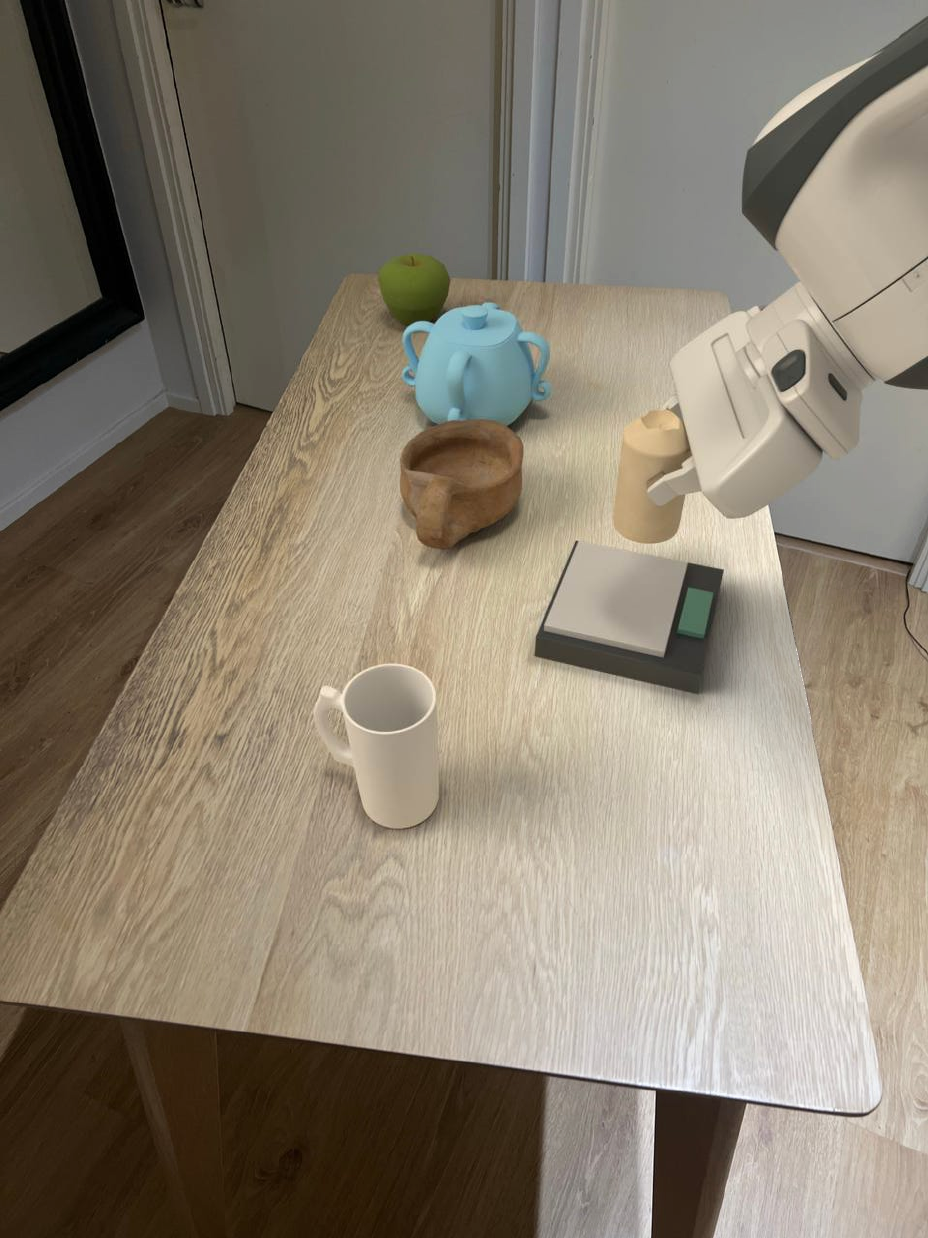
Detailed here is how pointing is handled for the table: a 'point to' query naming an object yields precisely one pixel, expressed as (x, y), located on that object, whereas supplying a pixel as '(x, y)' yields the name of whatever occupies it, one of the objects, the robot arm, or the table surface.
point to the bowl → (460, 478)
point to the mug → (387, 741)
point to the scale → (632, 616)
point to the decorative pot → (475, 366)
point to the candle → (649, 476)
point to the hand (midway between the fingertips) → (646, 470)
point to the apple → (414, 287)
